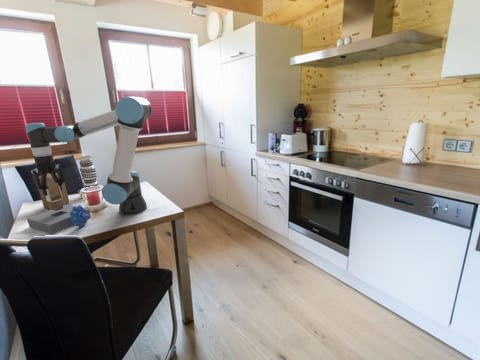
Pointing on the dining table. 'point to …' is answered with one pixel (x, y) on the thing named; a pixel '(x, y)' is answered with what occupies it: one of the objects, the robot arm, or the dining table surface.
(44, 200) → the wooden block
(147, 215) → the dining table surface
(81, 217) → the grapes
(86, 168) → the decorative candle
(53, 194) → the walnut peg
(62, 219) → the seat block
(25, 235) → the dining table surface
